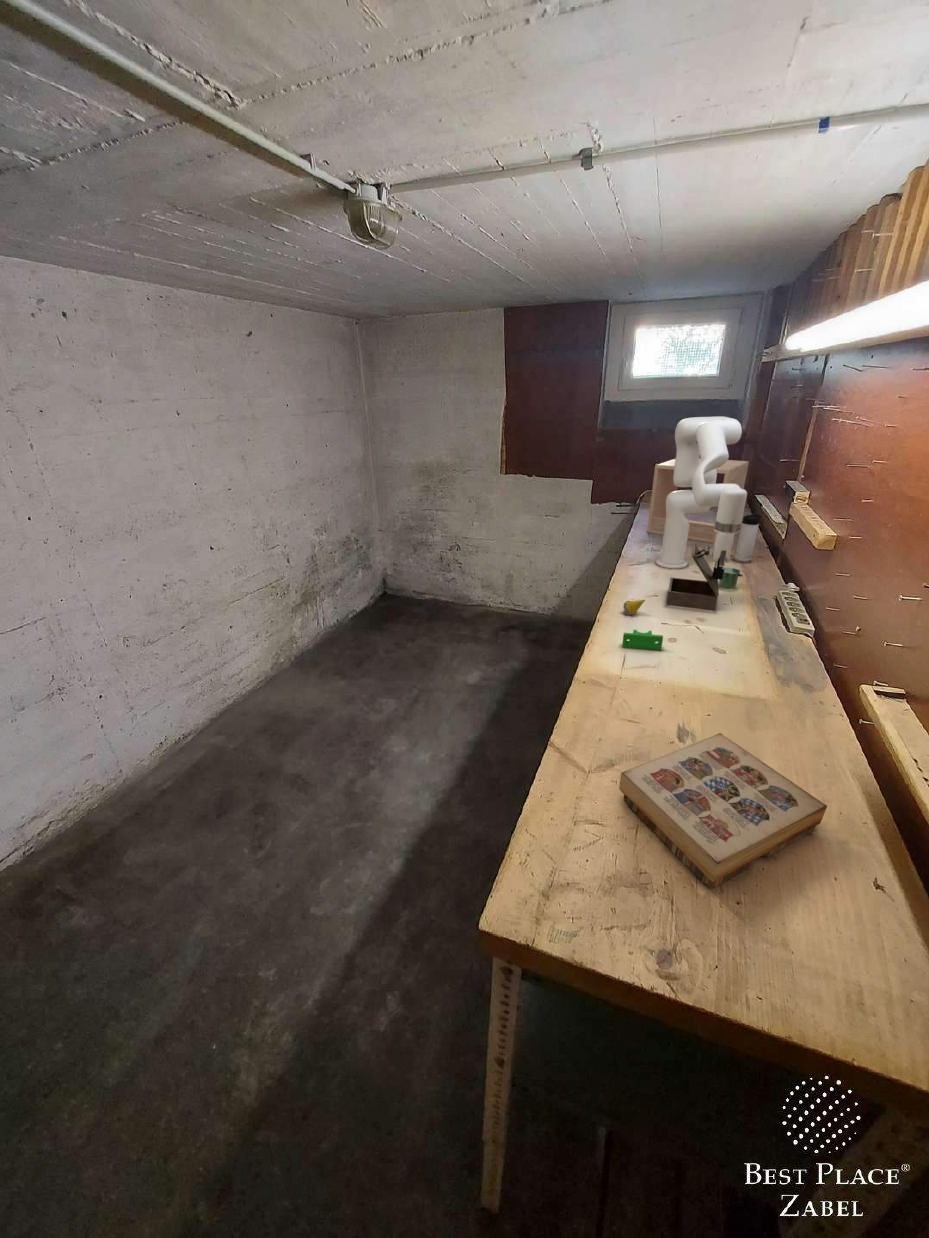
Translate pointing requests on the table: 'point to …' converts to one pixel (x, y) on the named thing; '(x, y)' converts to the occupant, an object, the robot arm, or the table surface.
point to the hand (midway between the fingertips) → (717, 578)
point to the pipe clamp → (642, 640)
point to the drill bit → (632, 607)
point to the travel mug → (747, 538)
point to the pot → (730, 578)
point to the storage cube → (665, 486)
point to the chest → (691, 594)
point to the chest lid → (705, 566)
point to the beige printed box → (719, 806)
